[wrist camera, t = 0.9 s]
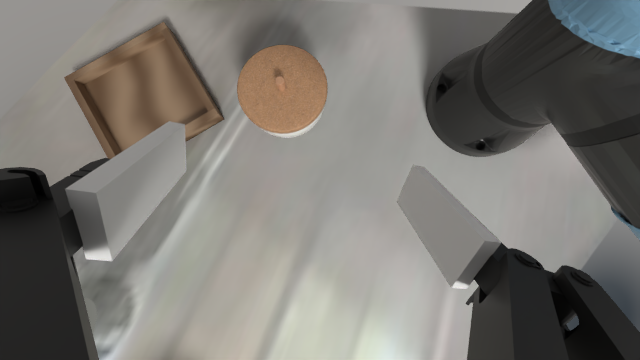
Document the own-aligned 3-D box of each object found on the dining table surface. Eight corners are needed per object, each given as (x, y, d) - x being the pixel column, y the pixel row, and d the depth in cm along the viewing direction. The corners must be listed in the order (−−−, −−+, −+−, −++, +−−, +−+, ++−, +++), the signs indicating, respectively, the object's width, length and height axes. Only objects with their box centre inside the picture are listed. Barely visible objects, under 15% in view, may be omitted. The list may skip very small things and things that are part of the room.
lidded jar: (246, 137, 37) (221, 116, 27) (263, 69, 37) (244, 26, 28) (317, 153, 36) (316, 136, 27) (332, 84, 37) (336, 45, 28)
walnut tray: (172, 32, 38) (163, 21, 36) (224, 119, 37) (218, 114, 35) (79, 84, 37) (64, 77, 35) (128, 175, 36) (116, 173, 34)
